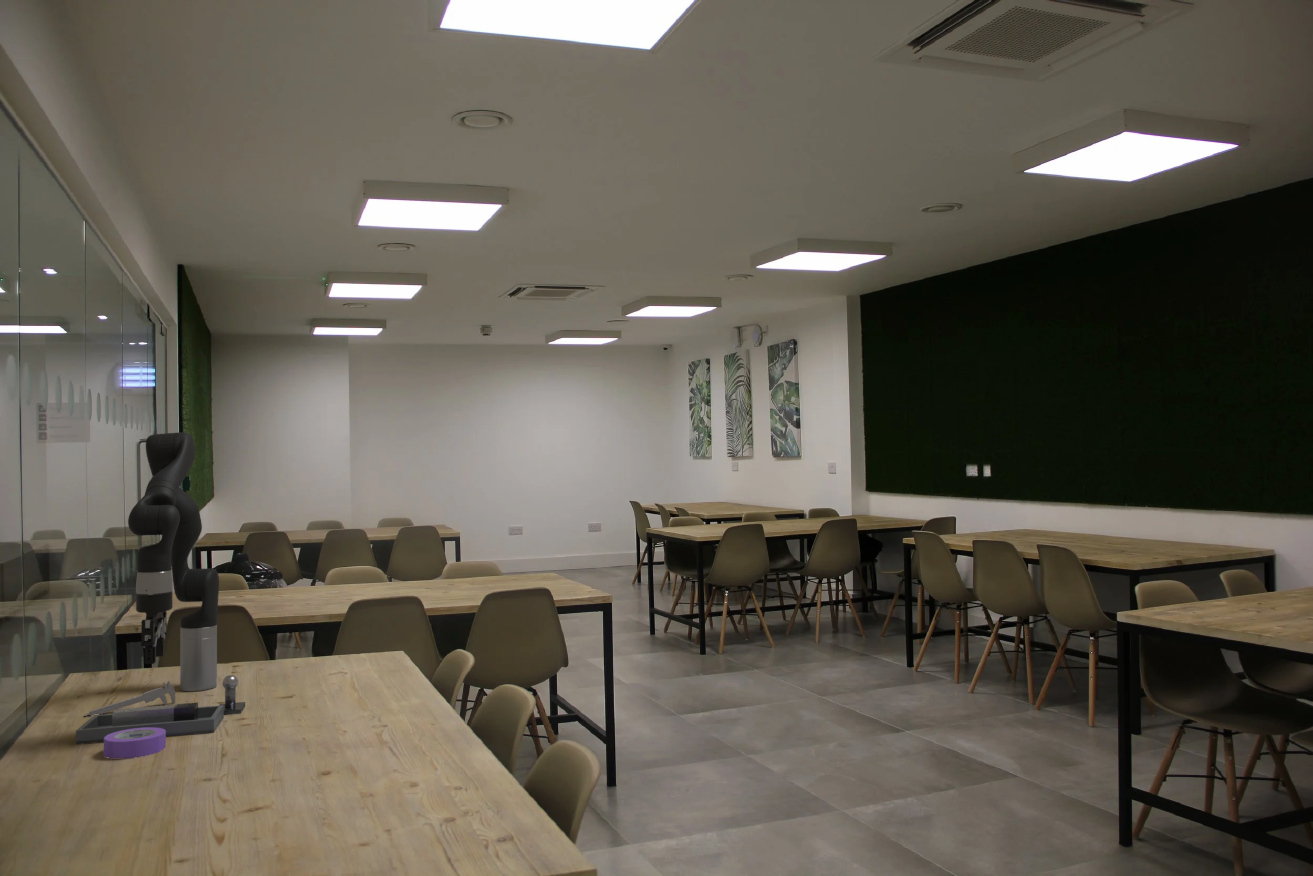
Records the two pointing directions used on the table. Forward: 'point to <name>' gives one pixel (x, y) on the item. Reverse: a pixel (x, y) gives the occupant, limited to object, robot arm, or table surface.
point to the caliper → (140, 699)
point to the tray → (152, 725)
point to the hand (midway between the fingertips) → (154, 660)
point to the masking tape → (134, 742)
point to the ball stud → (231, 696)
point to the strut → (155, 714)
